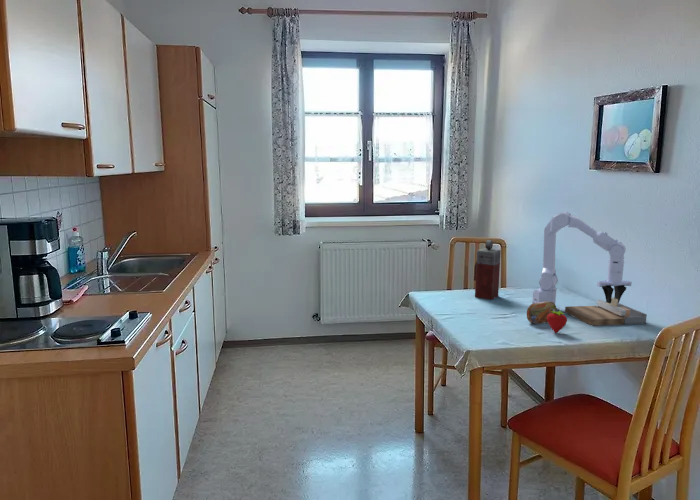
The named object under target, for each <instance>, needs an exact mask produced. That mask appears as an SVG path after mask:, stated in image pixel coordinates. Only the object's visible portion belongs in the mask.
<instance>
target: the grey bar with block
mask: <svg viewBox="0 0 700 500" xmlns="http://www.w3.org/2000/svg"><path fill="white" fill-rule="evenodd" d="M617 303H618V299H616V298H614V297H613V296H612V298H611V303H607V302H606V300H602V299H597V301H596V306H600V307H602V308H604V309H606V310H608V311H611V312H613V313H615V314H617V315H620V316H625V315H626V310H624V309H622V308H619V307H617Z"/></svg>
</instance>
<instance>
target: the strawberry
mask: <svg viewBox="0 0 700 500" xmlns="http://www.w3.org/2000/svg"><path fill="white" fill-rule="evenodd" d="M550 312H553V313H550V314H548V315H547V321H548V322H547V324H548V326H550V328H551V329H552V331H553V332H554V333H556V334H557V333H559V331H561V330H562V329H564V327H565V326H566V324H567V322H568V318H567V316H566V315H565V312H563V311H561V310H557V312H556V311H550Z"/></svg>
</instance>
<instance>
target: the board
mask: <svg viewBox="0 0 700 500" xmlns="http://www.w3.org/2000/svg"><path fill="white" fill-rule="evenodd" d="M564 313H566V314H567V315H569V316H571V317H573V318H576V319H577V320H579V321H582V322H583V323H585V324H587V325H589V326H591V325H593V326H615V325H616V326H621V325H622V326H623V325H625V324H624V318H622V317H620V316H618V315H615V314H613V313H611V312H609V311H606V310H604V309H602V308H600V307H597V305H575V306H571V305H570V306H565V307H564Z"/></svg>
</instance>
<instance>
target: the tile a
mask: <svg viewBox="0 0 700 500" xmlns="http://www.w3.org/2000/svg"><path fill="white" fill-rule="evenodd" d="M619 308H622V309H624V310H626V315H625V316H620V315H618V316H620V317H622V318H626V317H630V309H627V308H625V307H619Z"/></svg>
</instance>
